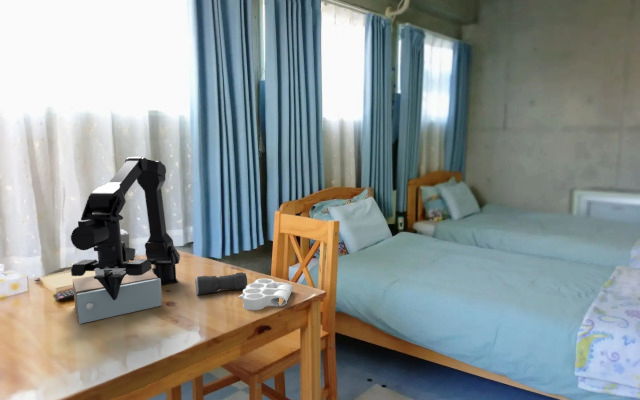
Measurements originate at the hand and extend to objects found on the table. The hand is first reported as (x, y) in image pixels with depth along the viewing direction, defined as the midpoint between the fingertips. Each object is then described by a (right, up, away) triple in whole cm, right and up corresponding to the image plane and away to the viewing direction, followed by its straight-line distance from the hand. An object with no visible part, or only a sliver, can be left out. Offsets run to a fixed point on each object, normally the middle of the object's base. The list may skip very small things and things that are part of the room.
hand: (115, 299), depth 113 cm
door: (+1, -5, +3) cm, 6 cm away
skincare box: (-15, -1, +35) cm, 39 cm away
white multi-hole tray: (+37, -3, +14) cm, 40 cm away
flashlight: (+23, -3, +21) cm, 31 cm away
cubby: (-4, -4, +10) cm, 11 cm away
